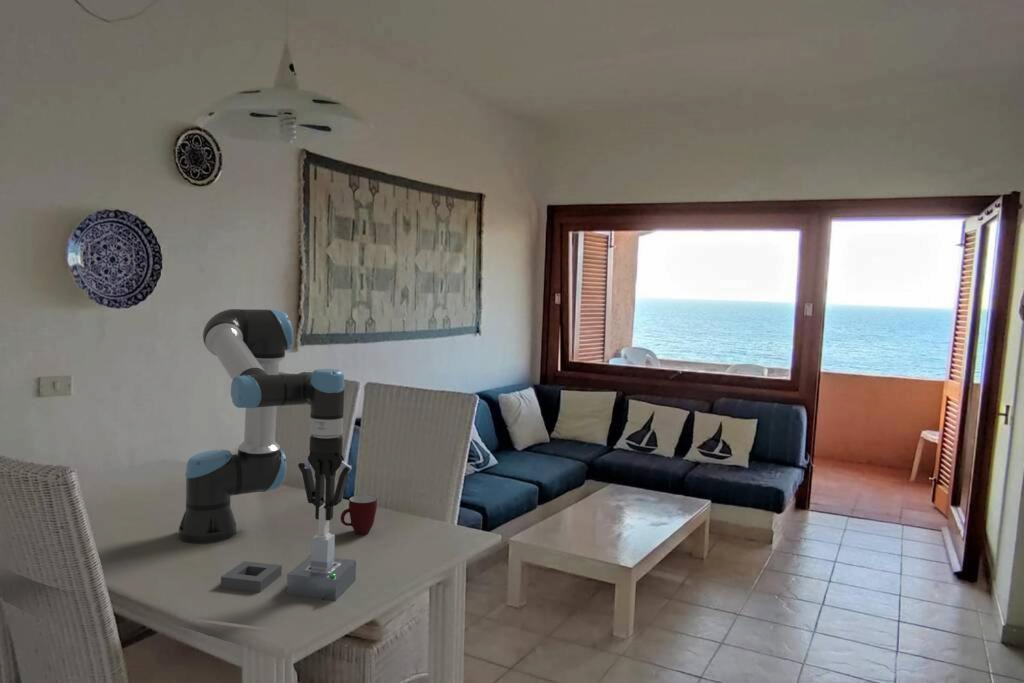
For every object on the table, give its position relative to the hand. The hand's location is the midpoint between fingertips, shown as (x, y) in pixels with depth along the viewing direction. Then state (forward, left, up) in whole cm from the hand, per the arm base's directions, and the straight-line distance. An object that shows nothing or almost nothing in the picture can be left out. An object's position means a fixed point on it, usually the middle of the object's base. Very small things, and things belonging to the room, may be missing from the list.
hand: (323, 532), depth 164 cm
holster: (-17, -2, -13) cm, 22 cm away
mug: (-6, +38, -14) cm, 41 cm away
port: (0, 0, -13) cm, 13 cm away
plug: (0, 0, -13) cm, 13 cm away
